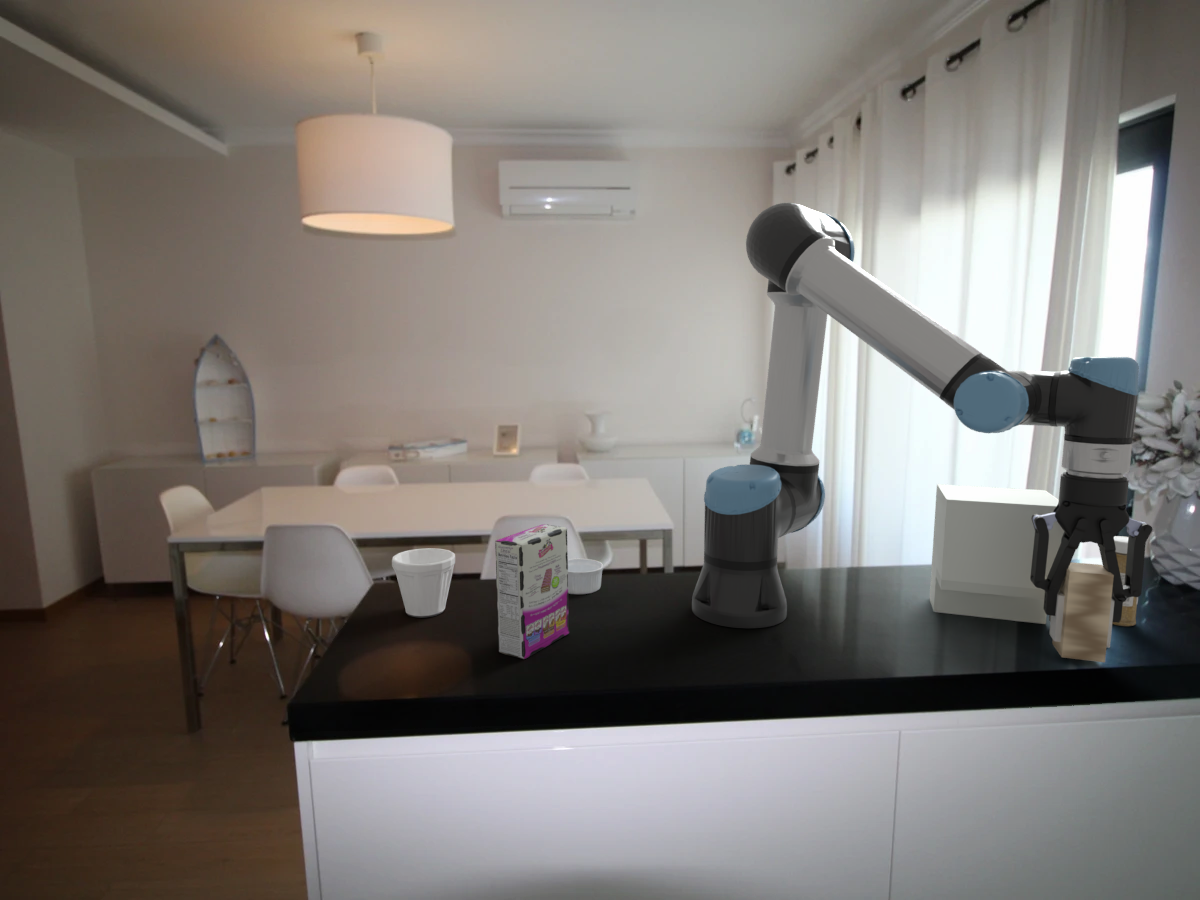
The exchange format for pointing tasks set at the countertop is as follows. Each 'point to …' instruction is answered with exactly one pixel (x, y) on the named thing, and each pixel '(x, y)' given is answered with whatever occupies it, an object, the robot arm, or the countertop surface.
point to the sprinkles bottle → (1131, 602)
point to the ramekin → (584, 576)
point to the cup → (424, 579)
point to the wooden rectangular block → (1085, 612)
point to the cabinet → (989, 552)
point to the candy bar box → (532, 590)
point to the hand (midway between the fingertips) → (1078, 640)
